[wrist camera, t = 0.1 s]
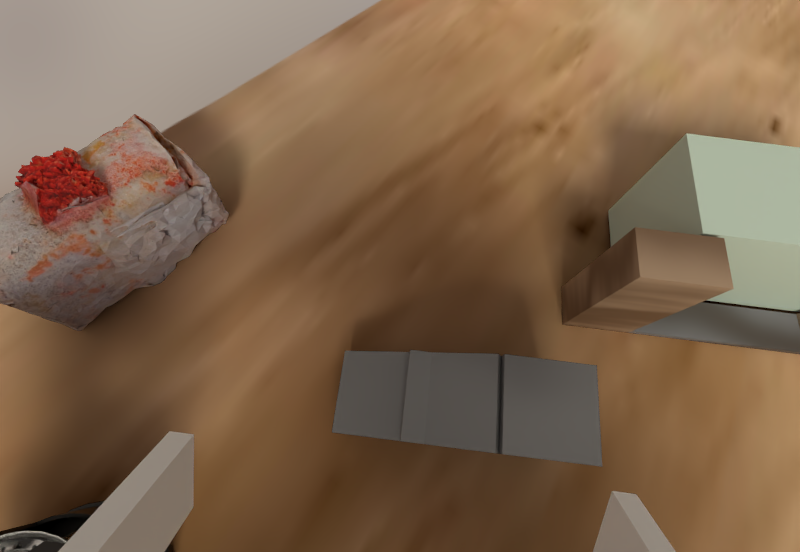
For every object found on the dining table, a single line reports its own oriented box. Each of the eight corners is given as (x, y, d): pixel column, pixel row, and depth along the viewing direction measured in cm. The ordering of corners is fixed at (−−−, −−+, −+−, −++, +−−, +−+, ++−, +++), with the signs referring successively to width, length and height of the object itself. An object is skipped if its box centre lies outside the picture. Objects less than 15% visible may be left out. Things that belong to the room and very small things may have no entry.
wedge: (543, 458, 28) (602, 466, 21) (336, 432, 28) (320, 431, 21) (542, 382, 30) (596, 365, 22) (348, 358, 30) (338, 333, 22)
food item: (185, 168, 35) (116, 73, 26) (246, 229, 33) (196, 149, 24) (31, 277, 31) (-116, 209, 22) (91, 352, 29) (-41, 313, 20)
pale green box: (805, 312, 32) (966, 266, 23) (614, 288, 32) (703, 232, 23) (783, 224, 35) (920, 152, 26) (607, 202, 35) (684, 123, 26)
